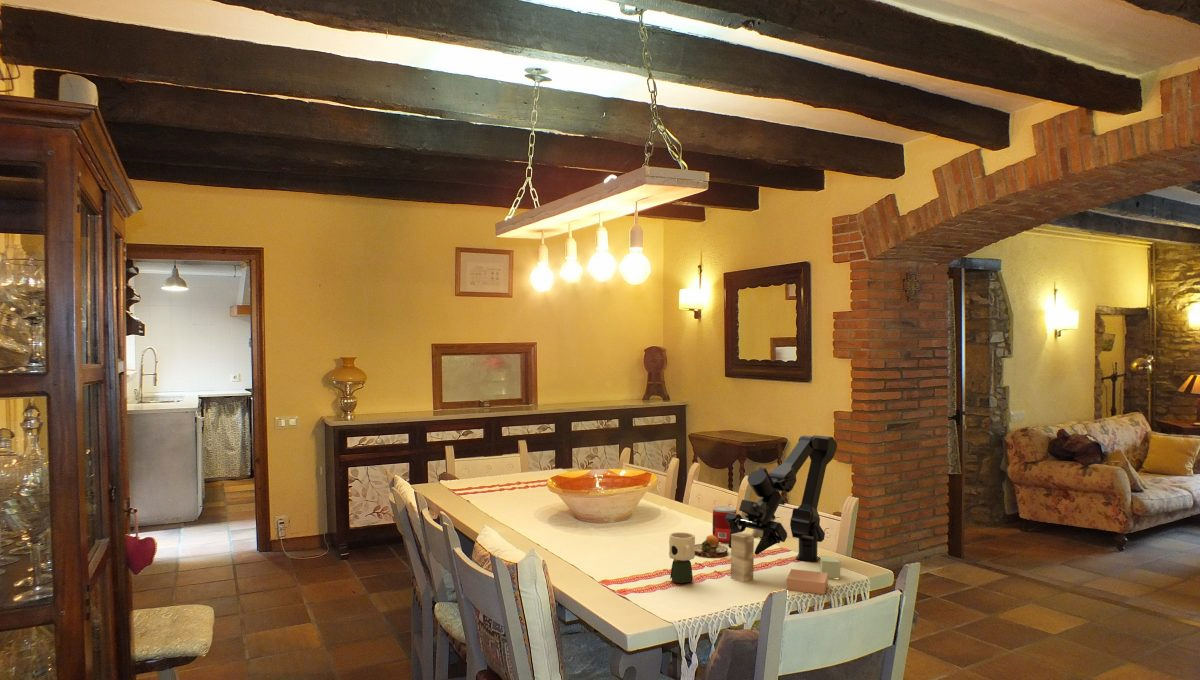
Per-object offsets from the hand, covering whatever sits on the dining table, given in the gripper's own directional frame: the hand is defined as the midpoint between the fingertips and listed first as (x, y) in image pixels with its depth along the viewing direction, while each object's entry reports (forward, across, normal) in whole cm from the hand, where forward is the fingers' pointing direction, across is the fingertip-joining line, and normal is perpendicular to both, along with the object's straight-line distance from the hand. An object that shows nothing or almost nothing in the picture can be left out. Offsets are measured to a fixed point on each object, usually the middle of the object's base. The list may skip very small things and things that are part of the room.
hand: (742, 550), depth 216 cm
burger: (-4, -24, +16) cm, 30 cm away
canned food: (-16, -32, +28) cm, 45 cm away
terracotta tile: (0, +16, +11) cm, 20 cm away
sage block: (-10, +15, +21) cm, 28 cm away
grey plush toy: (-28, -27, +39) cm, 55 cm away
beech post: (+6, 0, +6) cm, 8 cm away
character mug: (+17, -9, -5) cm, 20 cm away
